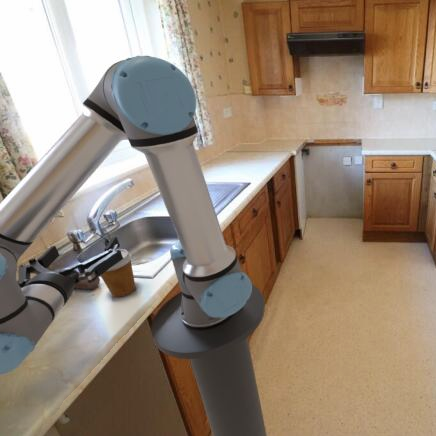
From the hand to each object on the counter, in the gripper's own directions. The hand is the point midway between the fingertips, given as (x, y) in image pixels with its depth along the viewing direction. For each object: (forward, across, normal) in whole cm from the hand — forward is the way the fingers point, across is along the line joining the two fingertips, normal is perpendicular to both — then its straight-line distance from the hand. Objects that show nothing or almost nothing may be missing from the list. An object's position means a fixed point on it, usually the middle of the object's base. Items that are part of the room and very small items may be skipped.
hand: (86, 245), depth 80 cm
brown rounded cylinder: (+17, -15, -21) cm, 31 cm away
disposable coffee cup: (+10, 0, -21) cm, 23 cm away
